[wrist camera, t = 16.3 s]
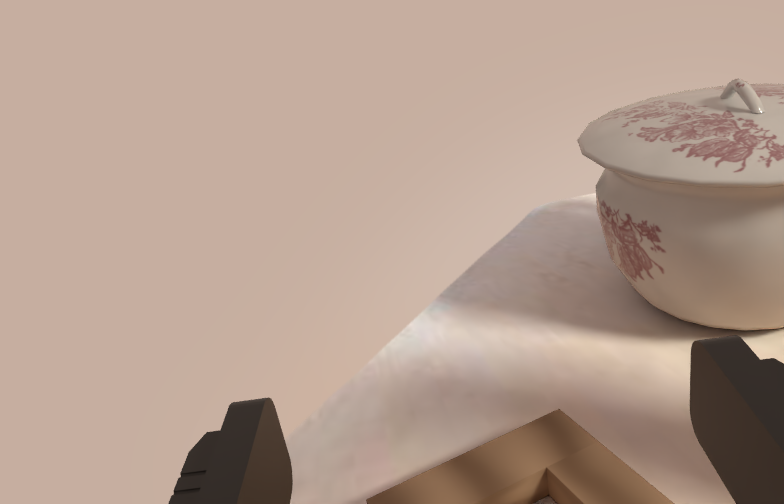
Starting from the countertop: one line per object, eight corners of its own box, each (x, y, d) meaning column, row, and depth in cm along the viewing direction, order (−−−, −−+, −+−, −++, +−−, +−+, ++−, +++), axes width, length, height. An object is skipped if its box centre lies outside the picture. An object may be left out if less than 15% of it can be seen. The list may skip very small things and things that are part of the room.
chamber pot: (796, 422, 49) (824, 149, 41) (529, 300, 71) (511, 105, 63) (967, 278, 62) (1017, 46, 53) (696, 212, 84) (699, 39, 75)
